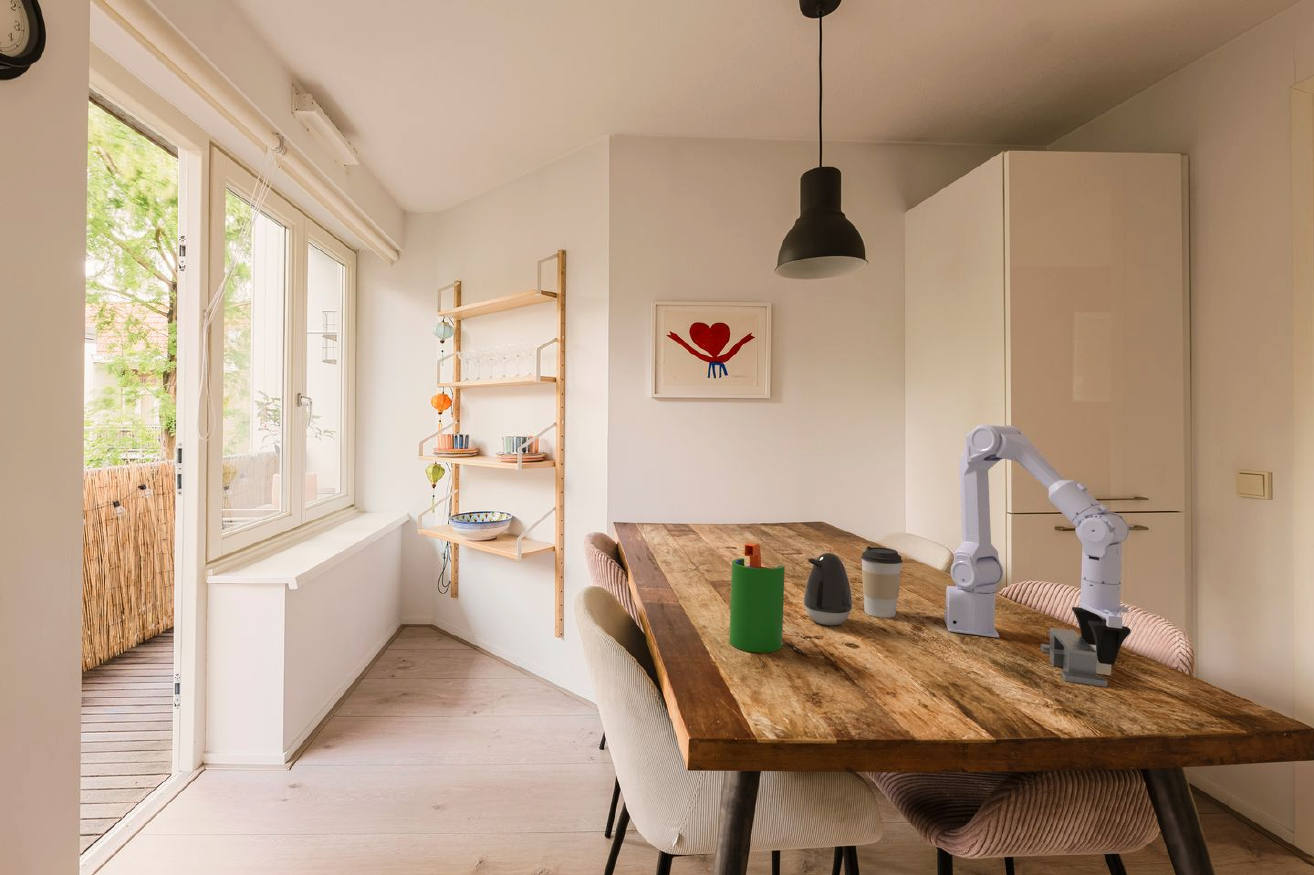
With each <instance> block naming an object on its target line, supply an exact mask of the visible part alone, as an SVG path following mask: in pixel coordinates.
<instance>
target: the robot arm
mask: <svg viewBox="0 0 1314 875" xmlns="http://www.w3.org/2000/svg"><path fill="white" fill-rule="evenodd" d="M1004 459H1005V460H1009V461H1013V462H1016V463H1018V464H1019V465H1020V466H1021V467H1022V468H1023V469H1025V470H1026V471H1027V472H1028V473H1029V474H1030V475H1031V476H1032V477H1034V478H1035V479H1036V480H1037V481H1038V482H1039V483H1040V484H1041V486H1043V487H1044V488H1046V489H1047V490H1048V500H1049V501H1050V503H1052V505H1054V507H1055V508H1056V509H1058V511H1059V512H1060V513H1061V514H1062V515H1063V516H1065V518H1066V519H1067V520H1068V521H1069V522H1070V523H1071V524H1072V525H1073V526H1074V527H1075V534H1076V536H1077V538H1078V540H1079V541H1080V542H1081V545H1082V550H1081V551H1082V552H1081V578H1080V581H1081V582H1080V594H1079V595H1080V596H1079V597H1080V598H1079V602H1078V606H1079V607H1078V606H1073V607H1072V608H1071V609H1072V612H1073V614H1074V616H1075V618H1076V620H1077V623H1078V626H1079V630H1080V636H1081V637H1082V638H1083V639H1084V640H1085V641H1086V642H1087V643H1088V644H1089V645H1096V652H1097V658H1098V661H1099V663H1102V664H1109V665H1111V666H1114V665H1115V663H1116V660H1117V658H1118V655H1119V652H1120V649H1121V646H1122V645H1123V643H1124V641H1125V639H1127V637H1128V636H1129V635H1131V632H1132V631H1131V630H1132V629H1131V628H1129V626H1125V625H1123V619H1124V618H1123V616H1122V613H1129V608H1128V607H1127V606H1125V605H1121V597H1122V596H1121V593H1122V572H1123V571H1122V566H1123V565H1122V563H1123V542H1125V541H1126V540H1127V538H1128V537H1129V535H1130V528H1129V527H1130V526H1129V525H1128V523H1127V522H1126V520H1125V519H1124V517H1123V515H1121V514H1119V513H1116V512H1114V511H1112V512H1111V511H1109V507H1108V506H1107V505H1106V504H1101V503H1100V502H1099V501H1098V500H1097V499H1096V498H1095V497H1094V496H1093V495H1092V494H1091V493H1089V492H1088V490H1089V487H1088V486H1087V485H1086V484H1085V483H1083V482H1082V483H1081V482H1080V483H1079V482H1078V481H1076V480H1072V479H1069V480H1068V479H1065V477H1064V476H1062V474H1061V473H1059V472H1058V470H1057V469H1056V468H1055V467H1054V466H1053V465H1052V464H1051V463H1050V462H1049V461H1048V459H1047V458H1046V457H1045V456H1044V455H1043V454H1042V453H1041V452H1040V451H1039V450H1038V448H1036V446H1034V444H1033V443H1032V441H1031V439H1030V438H1029V437H1028V436H1027V435H1026V434H1024V433H1022V431H1021V430H1020V429H1019V428H1018V427H1015V426H1012V425H990V424H979V425H978V426H975V427H974V428H973V429H972V430H971V431H970V432H968V433H967V434H966V435H965V447H964V449H963V451H962V453H961V456H960V458H959V461H958V465H959V468H958V469H959V492H960V495H959V496H960V517H961V518H960V519H961V544H959V546H958V547H957V548H956V549H955V551H954V553H953V562H952V564H951V565H950V566H951V567H950V576H951V579H952V581H953V582H954V584H955V586H954V585H947V586H946V590H945V609H944V610H945V611H944V622H945V625H946V629H947V630H948V632H953V633H958V634H959V633H960V634H967V635H976V636H982V637H983V636H984V637H990V638H1000V635H999V633H998V631H997V629H996V628H995V627H996V626H995V624H996V622H995V619H996V618H995V617H996V595H997V594H996V591H997V585H998V584H999V583H1001V581H1002V580H1003V577H1004V568H1003V565H1002V563H1001V562H1000V559H999V552H998V550H997V549H996V548H995V546H994V545H993V544H992V536H991V509H990V508H991V507H990V506H991V505H990V485H989V484H990V483H989V470H990V469H992V468H993V467H994V466H995V465H996V464H997V463H998V462H1000V461H1001V460H1004Z"/></svg>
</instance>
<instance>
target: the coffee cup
mask: <svg viewBox="0 0 1314 875" xmlns="http://www.w3.org/2000/svg"><path fill="white" fill-rule="evenodd" d="M860 558H861V565H862V567H861V578H862V579H861V580H862V593H863V602H864V603H863V606H864V609H863V610H864V613H865V614H867V615H869V616H872V617H876V618H877V617H878V618H883V619H885V618H886V619H888V618H894V617H895V616H896V615H897V614H896V613H897V605H898V598H899V595H900V594H899V593H900V586H901V578H902V564H903V559H902V556H901V555H900V554H899V552H898V551H897V550H896V549H893V548H888V547H887V548H886V547H878V546H877V547H875V546H874V547H872V546H869V545H868V546H867V547H866V549H865V551H863V552H862V554H861V557H860Z"/></svg>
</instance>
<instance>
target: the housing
mask: <svg viewBox="0 0 1314 875" xmlns="http://www.w3.org/2000/svg"><path fill="white" fill-rule="evenodd" d="M1050 649H1057V650H1064V661H1063V667H1062V668H1063V669H1062V670H1061V678H1062V679H1063V681H1064V682H1070V683H1076V684H1082V685H1084V684H1085V685H1090V686H1095V687H1103V688H1108V680H1107V679H1106V678H1105V677H1104V676H1103V675H1102V676H1099V675H1097V674H1096V664H1097V652H1096V651H1095V650H1094V649H1093V648H1092V647H1091V646H1090V645H1089V644H1088V643H1087V642H1086V641H1085V640H1084V639H1083V638H1082V637H1081V634H1079V633H1078V632H1077V631H1076V630H1074V629H1067V628H1066V629H1065V628H1057V627H1049V644H1044V643H1040V650H1041V652H1042V651H1043V652H1042V653H1044V654H1049V655H1050Z"/></svg>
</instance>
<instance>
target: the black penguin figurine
mask: <svg viewBox="0 0 1314 875" xmlns="http://www.w3.org/2000/svg"><path fill="white" fill-rule="evenodd" d="M807 562H808V563H810V564H812V567H811V569H810V572H809V573H808V574H809V575H808V578H807V581H806V585H805V590H804V596H803V605H804V606H805V610H806V613H807V615H808V616H809V618H810V619H811V620H813V621H814V622H815V623H817V624H819V625H823V626H829V627H830V626H831V627H833V626H838V625H841V624H843V623H844V622H846V621H847V620H848V618H849V616H850V614H851V611H852V610H853V597H852V596H853V595H852V588H851V584H850V580H849V577H848V576H849V575H848V573H847V570H846V568H845V565H844V563H843V561H842V560H841V558H840V557H839V556H838V555H837V554H835V553H832V552H825V553H822V554H820V555H818V557H817V558H813V557H808V558H807Z"/></svg>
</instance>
